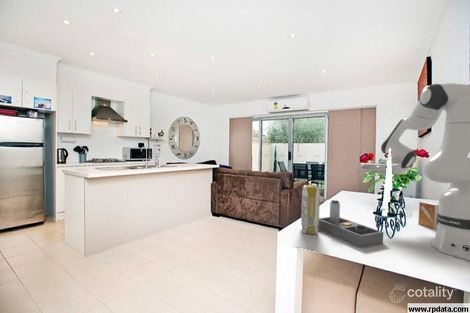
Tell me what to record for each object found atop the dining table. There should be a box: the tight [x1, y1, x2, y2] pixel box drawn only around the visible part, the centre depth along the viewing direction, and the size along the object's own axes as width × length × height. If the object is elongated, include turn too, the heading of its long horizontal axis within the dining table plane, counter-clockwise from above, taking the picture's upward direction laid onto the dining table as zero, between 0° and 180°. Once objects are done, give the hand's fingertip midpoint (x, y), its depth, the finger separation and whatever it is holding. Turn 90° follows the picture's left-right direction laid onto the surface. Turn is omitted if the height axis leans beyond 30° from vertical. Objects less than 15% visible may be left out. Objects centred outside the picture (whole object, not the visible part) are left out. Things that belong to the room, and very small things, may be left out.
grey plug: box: [329, 199, 341, 224], centre depth 116 cm, size 5×5×13 cm
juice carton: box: [300, 183, 321, 235], centre depth 112 cm, size 9×8×24 cm
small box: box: [418, 200, 439, 230], centre depth 126 cm, size 8×6×13 cm
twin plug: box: [355, 224, 367, 235], centre depth 102 cm, size 5×5×5 cm
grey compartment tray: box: [318, 216, 384, 249], centre depth 109 cm, size 26×14×6 cm, turn 23°
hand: (369, 167), depth 125 cm, fingers open, 8 cm apart
